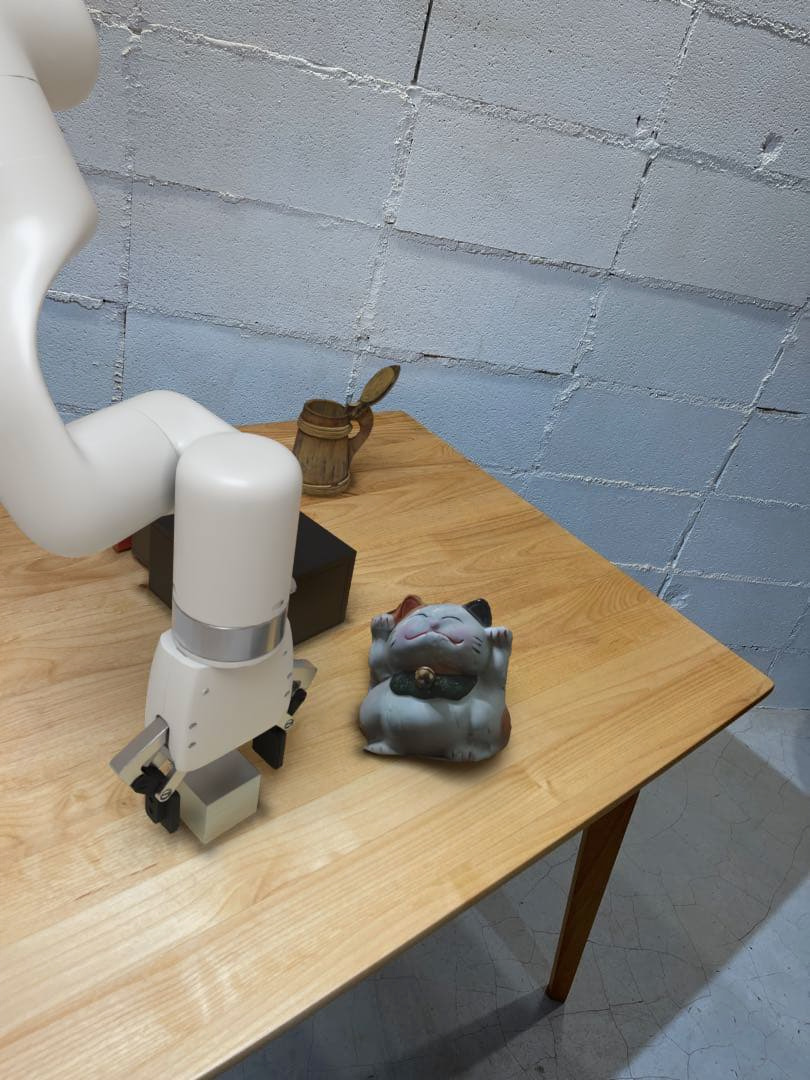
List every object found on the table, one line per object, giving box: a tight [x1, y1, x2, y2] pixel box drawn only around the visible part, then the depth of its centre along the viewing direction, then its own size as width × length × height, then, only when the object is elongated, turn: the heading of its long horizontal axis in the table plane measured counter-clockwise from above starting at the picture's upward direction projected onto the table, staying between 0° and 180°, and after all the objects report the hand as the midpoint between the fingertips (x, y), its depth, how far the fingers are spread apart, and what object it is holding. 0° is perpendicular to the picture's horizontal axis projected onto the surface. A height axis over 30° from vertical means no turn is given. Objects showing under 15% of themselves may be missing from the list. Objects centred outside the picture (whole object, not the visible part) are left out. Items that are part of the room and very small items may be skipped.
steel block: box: [168, 748, 262, 845], centre depth 64 cm, size 5×5×5 cm
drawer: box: [111, 524, 150, 569], centre depth 90 cm, size 20×13×8 cm, turn 47°
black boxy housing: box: [148, 510, 358, 648], centre depth 84 cm, size 16×14×10 cm
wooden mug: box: [291, 364, 402, 496], centre depth 109 cm, size 9×14×18 cm, turn 103°
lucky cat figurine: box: [358, 593, 514, 763], centre depth 75 cm, size 15×12×14 cm
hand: (217, 787), depth 63 cm, fingers open, 9 cm apart
